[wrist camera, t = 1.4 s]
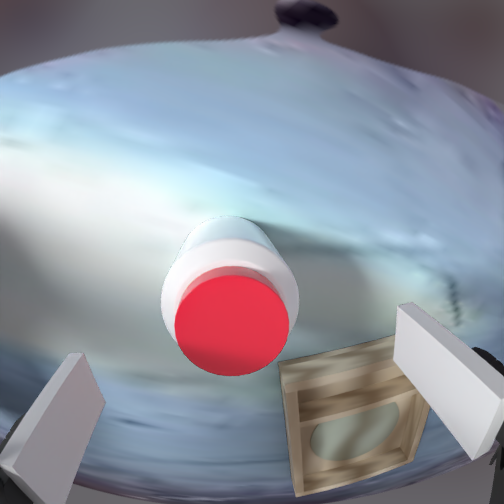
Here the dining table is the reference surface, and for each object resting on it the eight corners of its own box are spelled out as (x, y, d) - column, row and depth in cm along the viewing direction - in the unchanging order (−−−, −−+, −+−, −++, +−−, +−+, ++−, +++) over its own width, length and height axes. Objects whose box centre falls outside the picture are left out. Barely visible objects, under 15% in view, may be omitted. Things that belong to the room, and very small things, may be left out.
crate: (291, 477, 33) (296, 497, 30) (278, 361, 28) (284, 384, 25) (402, 444, 34) (412, 461, 31) (426, 324, 29) (444, 340, 25)
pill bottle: (210, 323, 26) (206, 411, 16) (160, 246, 24) (119, 300, 14) (291, 280, 26) (335, 351, 15) (247, 197, 24) (267, 218, 13)
